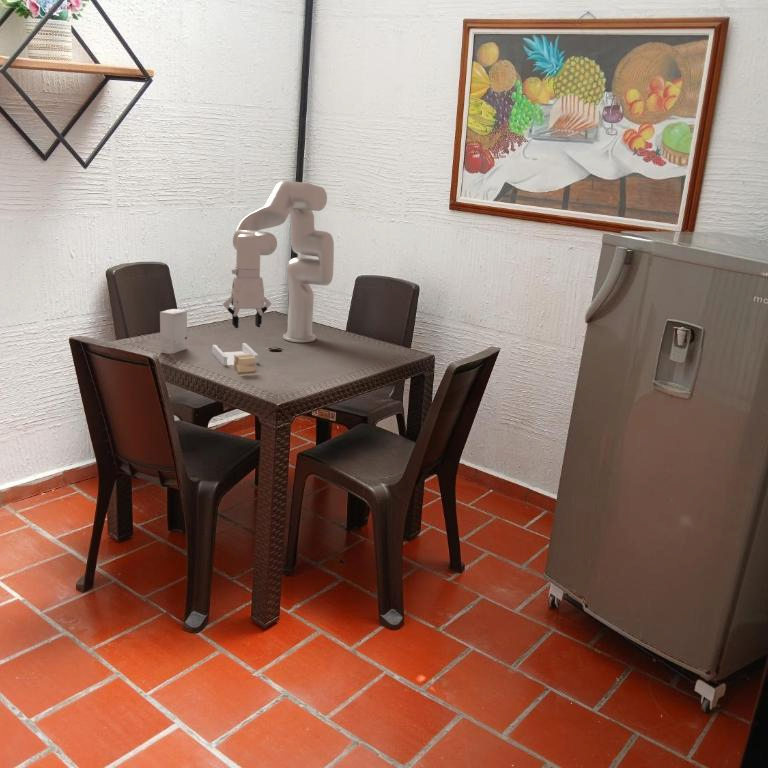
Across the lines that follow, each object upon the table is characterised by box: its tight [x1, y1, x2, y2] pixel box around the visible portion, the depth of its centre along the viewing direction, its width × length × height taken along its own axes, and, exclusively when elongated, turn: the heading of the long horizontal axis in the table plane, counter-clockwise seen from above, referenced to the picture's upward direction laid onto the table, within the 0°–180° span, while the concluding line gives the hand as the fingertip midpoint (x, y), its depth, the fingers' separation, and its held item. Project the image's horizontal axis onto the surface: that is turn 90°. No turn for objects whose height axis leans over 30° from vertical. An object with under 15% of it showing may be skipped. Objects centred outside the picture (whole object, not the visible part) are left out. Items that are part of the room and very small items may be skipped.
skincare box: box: [159, 308, 188, 356], centre depth 283 cm, size 8×6×15 cm
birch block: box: [233, 353, 256, 376], centre depth 269 cm, size 6×6×6 cm
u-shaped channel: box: [212, 342, 259, 366], centre depth 280 cm, size 15×12×4 cm
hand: (246, 326), depth 265 cm, fingers open, 6 cm apart
